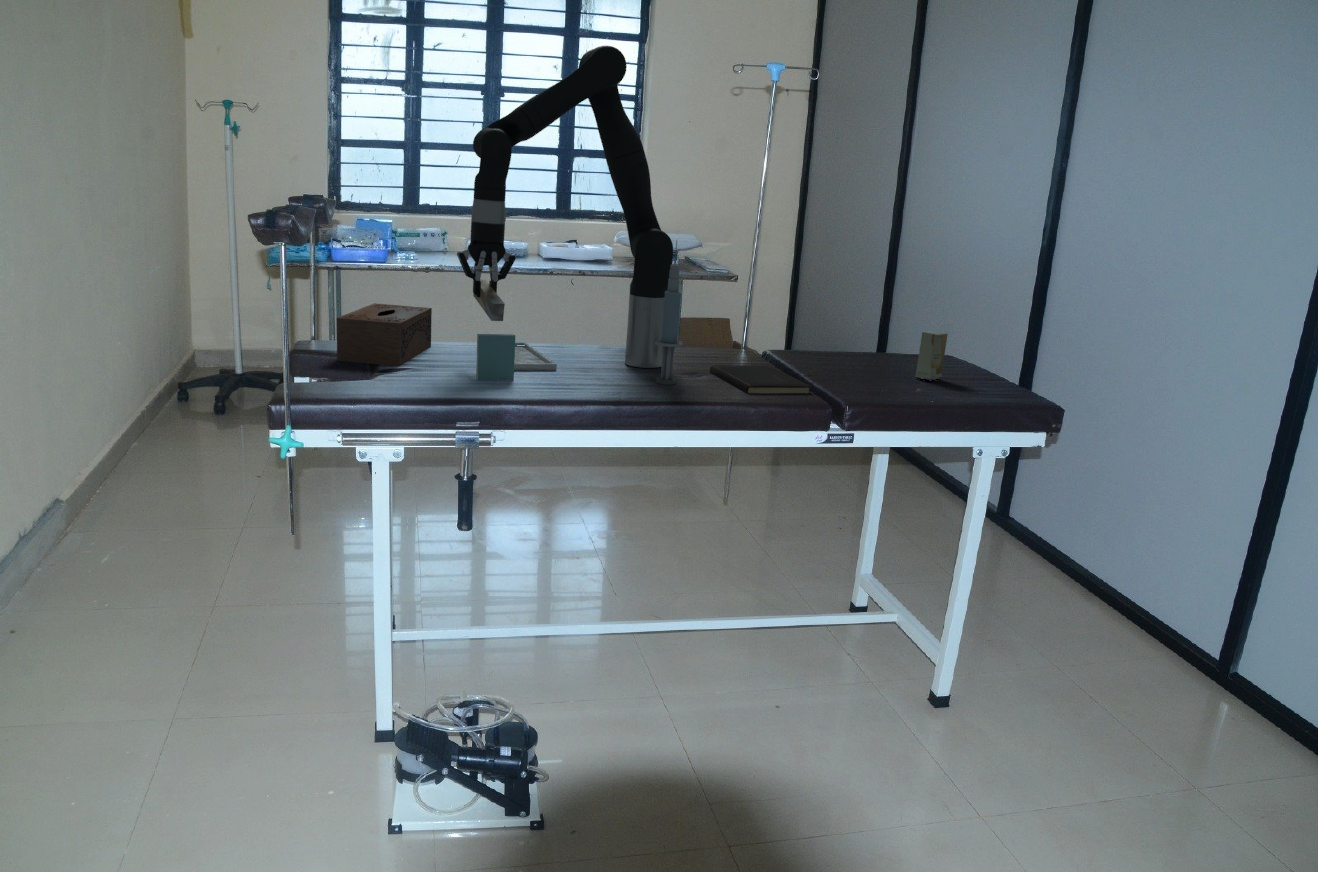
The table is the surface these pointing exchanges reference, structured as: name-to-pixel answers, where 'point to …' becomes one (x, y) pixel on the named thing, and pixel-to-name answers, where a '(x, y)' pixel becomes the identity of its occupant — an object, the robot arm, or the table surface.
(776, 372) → the hardcover book
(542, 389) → the table surface
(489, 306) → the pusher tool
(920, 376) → the skincare box
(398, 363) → the tissue box cover
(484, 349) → the tile
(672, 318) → the syringe
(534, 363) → the instrument tray
